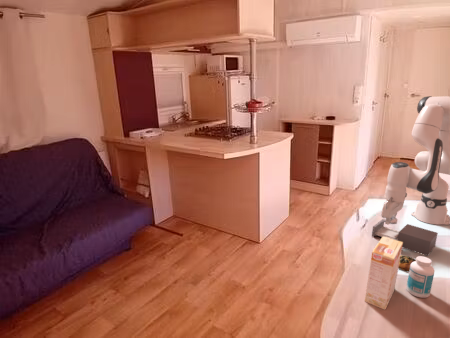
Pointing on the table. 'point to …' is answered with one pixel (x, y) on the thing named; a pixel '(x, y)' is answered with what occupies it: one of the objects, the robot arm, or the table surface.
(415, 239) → the block
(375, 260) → the coffeecake box
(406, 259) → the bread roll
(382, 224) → the tray
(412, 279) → the pill bottle
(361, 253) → the table surface
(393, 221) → the disc
